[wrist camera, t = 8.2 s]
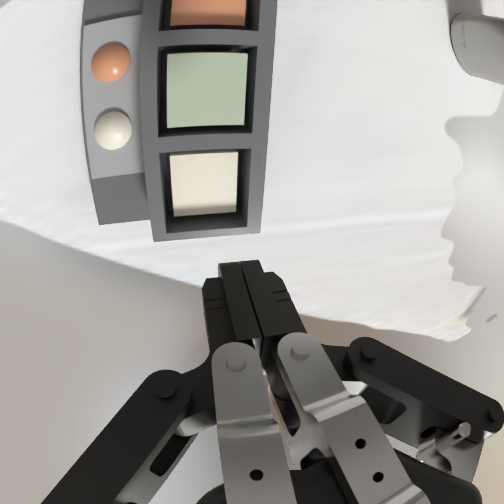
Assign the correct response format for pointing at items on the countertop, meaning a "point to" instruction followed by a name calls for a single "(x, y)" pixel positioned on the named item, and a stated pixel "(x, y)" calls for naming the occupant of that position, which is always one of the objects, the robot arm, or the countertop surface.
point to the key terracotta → (208, 14)
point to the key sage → (206, 89)
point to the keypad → (155, 114)
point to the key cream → (204, 181)
